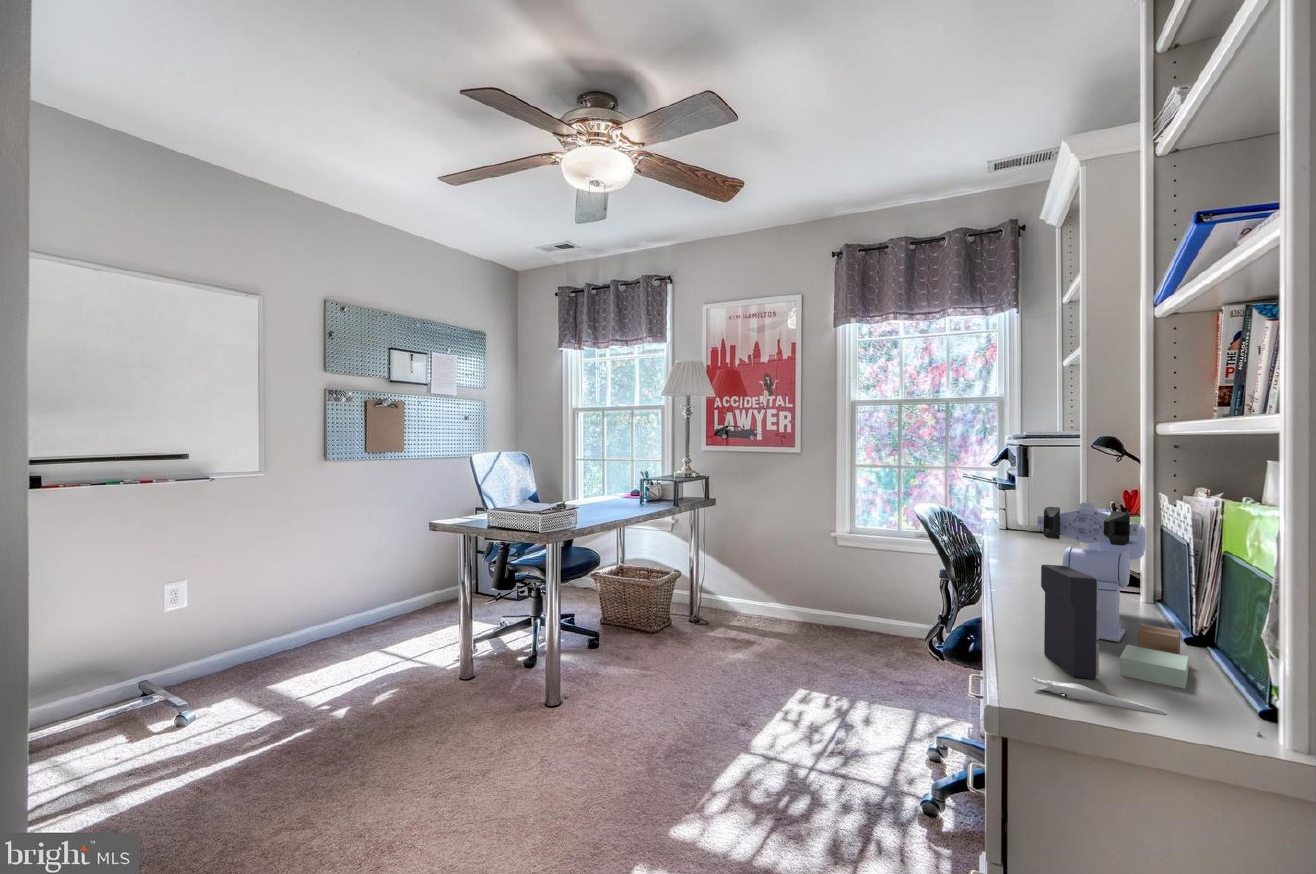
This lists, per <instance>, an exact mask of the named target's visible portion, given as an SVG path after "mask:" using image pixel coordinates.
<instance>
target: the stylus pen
mask: <svg viewBox="0 0 1316 874" xmlns="http://www.w3.org/2000/svg"><path fill="white" fill-rule="evenodd" d="M1032 681H1033V682H1034V683H1037V684H1038V685H1043V686H1040V687H1038V688H1039V689H1037V690H1036V691H1046V692H1049V693H1053V694H1055V695H1058V694H1066V696H1065V698H1068V697H1069V698H1068V699H1071V698H1073V699H1072V700H1076V699H1078V701H1082V700H1084V701H1083V702H1092V701H1093V703H1098V704H1101V705H1107V706H1112V705H1113V707H1119V708H1125V709H1132V710H1136V711H1143V712H1147V713H1148V712H1149V713H1154V714H1161V715H1168V712H1165V711H1164V710H1161V709H1158V708H1155V707H1152V706H1149V705H1148V704H1147V705H1146V704H1143V703H1140V702H1137V701H1132V700H1129V699H1125V698H1121V697H1118V696H1113V695H1111V694H1107V693H1103V692H1100V691H1098V690H1095V689H1092V688H1090V687H1088V686H1085V685H1082V684H1079V683H1074V682H1059V681H1053V680H1049V679H1047V680H1044V679H1043V680H1042V679H1038V678H1037V677H1033V678H1032Z"/></svg>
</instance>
